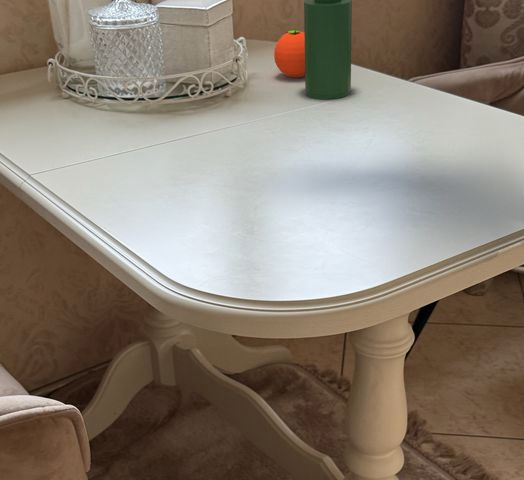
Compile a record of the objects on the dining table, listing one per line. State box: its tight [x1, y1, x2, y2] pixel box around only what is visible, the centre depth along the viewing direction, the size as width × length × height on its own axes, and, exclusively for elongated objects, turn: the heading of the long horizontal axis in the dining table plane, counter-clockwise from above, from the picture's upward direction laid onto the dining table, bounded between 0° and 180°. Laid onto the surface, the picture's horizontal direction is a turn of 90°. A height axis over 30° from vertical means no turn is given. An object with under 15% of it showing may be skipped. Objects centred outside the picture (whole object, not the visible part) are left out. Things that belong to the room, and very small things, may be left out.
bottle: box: [303, 0, 353, 100], centre depth 115 cm, size 7×7×17 cm
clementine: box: [273, 29, 305, 78], centre depth 126 cm, size 8×7×7 cm
